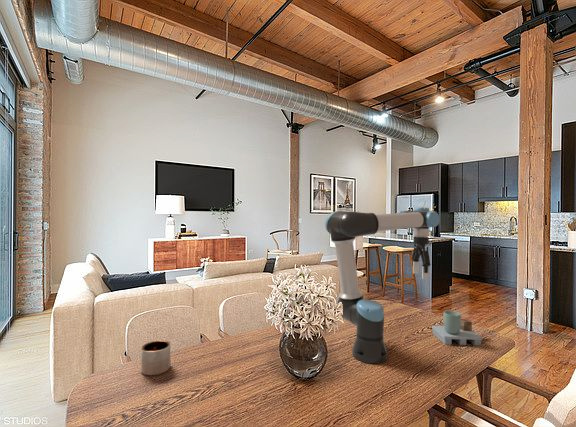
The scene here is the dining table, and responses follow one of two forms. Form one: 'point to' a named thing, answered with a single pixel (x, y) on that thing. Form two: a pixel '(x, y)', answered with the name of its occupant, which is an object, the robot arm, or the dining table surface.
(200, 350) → the dining table surface
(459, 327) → the cup
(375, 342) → the robot arm
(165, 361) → the planter
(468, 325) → the block
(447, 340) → the dock
